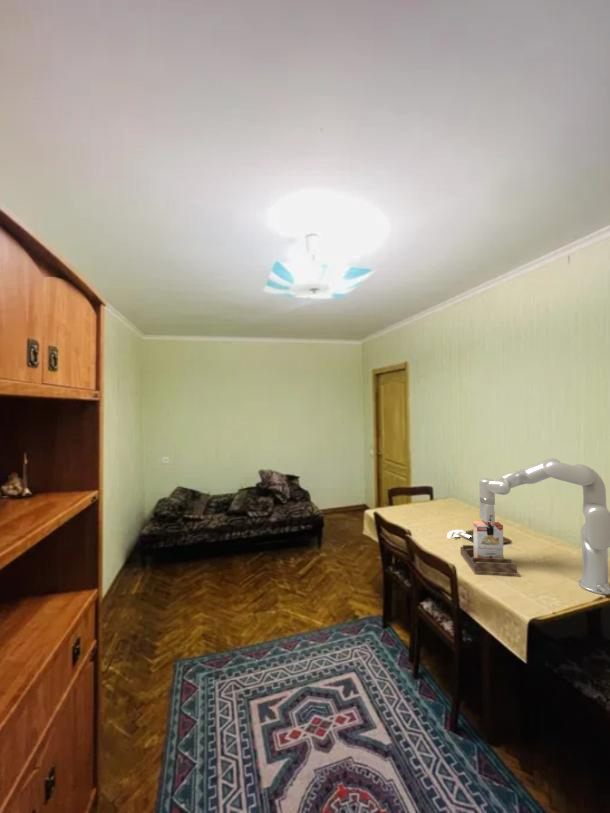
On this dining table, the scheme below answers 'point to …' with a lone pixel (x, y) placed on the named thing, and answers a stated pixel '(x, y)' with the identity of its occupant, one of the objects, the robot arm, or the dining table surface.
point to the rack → (488, 564)
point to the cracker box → (487, 540)
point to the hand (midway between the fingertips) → (487, 532)
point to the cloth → (454, 532)
